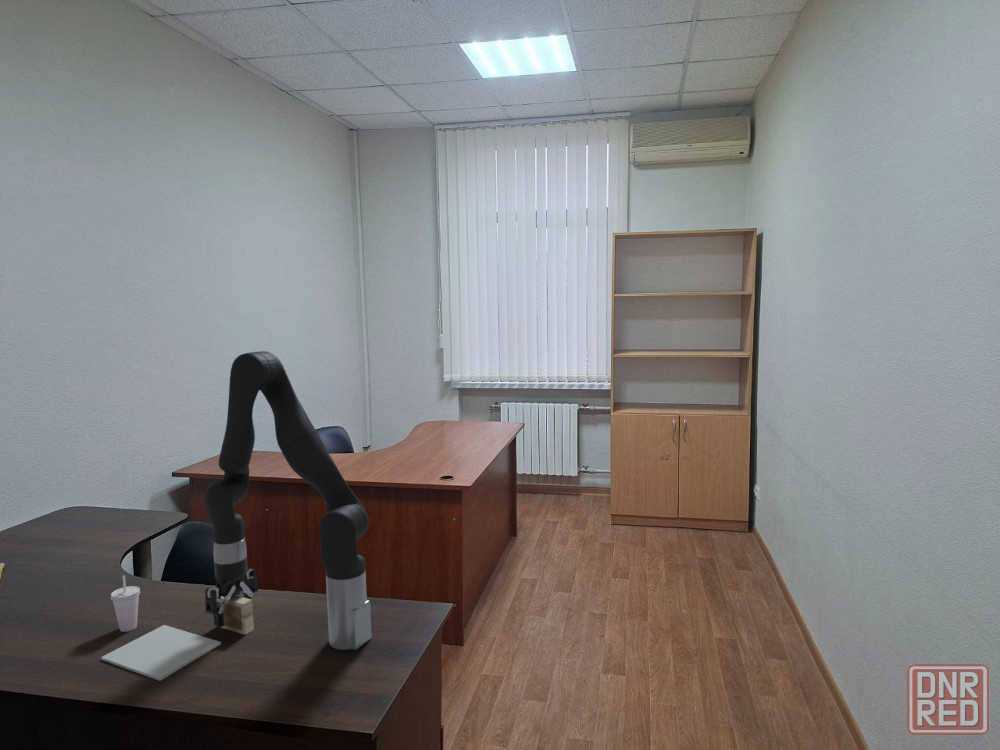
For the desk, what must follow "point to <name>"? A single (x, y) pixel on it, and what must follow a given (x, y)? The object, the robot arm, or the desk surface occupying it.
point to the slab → (238, 615)
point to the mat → (161, 652)
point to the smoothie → (126, 606)
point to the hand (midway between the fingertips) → (233, 618)
